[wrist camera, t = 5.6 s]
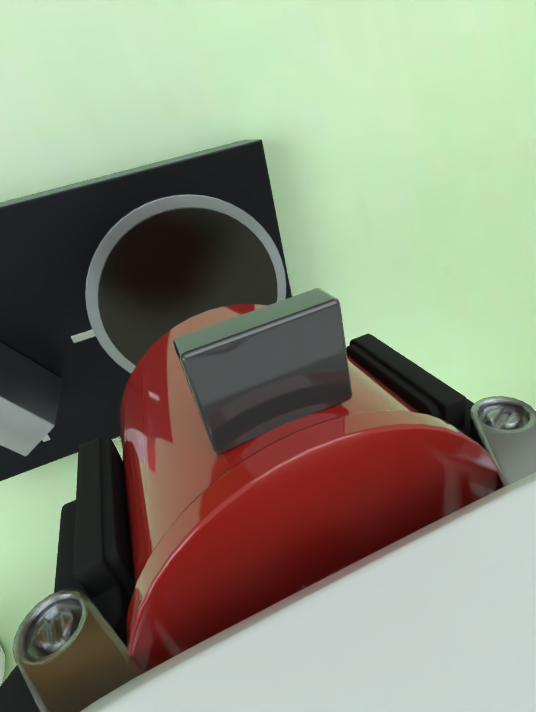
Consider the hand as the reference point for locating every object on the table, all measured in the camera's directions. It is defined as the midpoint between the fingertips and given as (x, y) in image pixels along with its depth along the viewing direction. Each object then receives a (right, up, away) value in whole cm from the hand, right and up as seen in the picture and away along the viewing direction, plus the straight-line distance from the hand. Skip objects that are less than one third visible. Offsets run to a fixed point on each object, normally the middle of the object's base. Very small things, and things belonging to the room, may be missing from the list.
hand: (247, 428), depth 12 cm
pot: (0, 0, +1) cm, 1 cm away
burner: (-3, +5, +9) cm, 10 cm away
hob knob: (-11, +2, +7) cm, 13 cm away
